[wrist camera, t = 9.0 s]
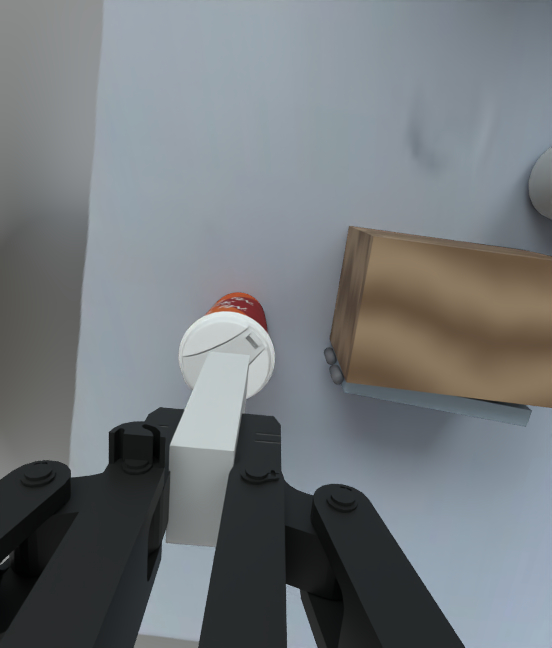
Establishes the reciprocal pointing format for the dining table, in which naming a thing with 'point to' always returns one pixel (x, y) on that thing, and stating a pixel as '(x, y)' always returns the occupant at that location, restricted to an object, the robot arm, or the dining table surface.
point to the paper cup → (230, 340)
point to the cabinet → (445, 317)
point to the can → (542, 184)
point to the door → (434, 399)
